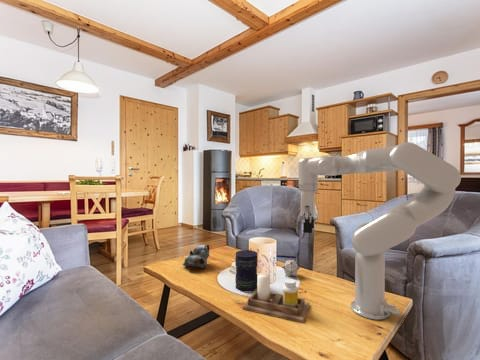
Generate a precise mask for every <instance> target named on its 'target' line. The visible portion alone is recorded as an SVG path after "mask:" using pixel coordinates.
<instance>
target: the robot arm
mask: <svg viewBox="0 0 480 360" xmlns="http://www.w3.org/2000/svg"><path fill="white" fill-rule="evenodd" d="M297 164H298V166H297V167H298V168H297V169H298V192H299V193H300V217H303V225H302V226H303V233H305V234H312V233H313V229H315V228H314V227H315V219H314V216H315V213H316V212H315V211H316V193H317V192H319V187H318V185H319V184H318V183H319V180H318V179H319V178H318V177H319V176H341V175H352V174H361V175H362V174H372V173H382V172H383V173H384V172H385V173H386V172H396V171H403V172H404V173H406V174H407V175H409V176H410V177H411V178H413V179H414V180H416V181H418V182H420V183H421V184H423V188H422V189H421V191H420V192H418V193H417V194H415V195H414V196H412V197H410V198H408V199H407V200H406V201H404V202H402V203H400V204H399V205H397V206H394V207H392V208H390V209H387V211H385V213H384V214H382V215H381V216H379V217H377V218H376V219H374V220H372V221H371V222H365V223H362V224H360V225H359V226H358V227H357V228H356V229H355V231H354V232H353V233H352V236H351V245H352V248H353V249H354V250H355V254H354V255H355V257H354V259H355V260H354V261H355V264H354V267H355V269H354V284H355V285H354V288H355V289H354V300H352V301H351V302H350V309H351V310H352V312H354V313H355V314H356V315H359V316H361V317H363V318H366V319H369V320H377V321H378V320H386V319H388V318H389V317H390V314H391V315H395V316H400V309H398V308H397V306H396V305H391V304H389V303H388V300H387V299H386V298H385V297H386V296H385V294H386V293H385V286H386V285H385V281H386V280H385V279H386V278H385V277H386V276H385V275H386V273H385V270H386V251H387V250H390V249H391V248H393V247H396V246H398V245H400V244H401V243H404V242H405V241H407V240H409V239H410V238H411V237H412V236H414V233H415V232H416V230H417V227H419V226H421V225H423V224H426V223H427V222H429V221H430V220H432V219H434V218H435V217H437V216H438V215H441V214H442V213H443V212H444V211H445V210H447V209H448V207H449V206H450V205H451V203H452V202H453V200H454V197H455V193H456V189H457V187H458V186H459V185H460V183H461V180H462V176H461V173H460V170H459V169H458V168H457V167H455V166H454V165H452V164H451V163H449V162H447V161H446V160H444V159H442V158H440V157H439V156H437V155H435V154H434V153H432V152H430V151H428V150H426V148H423V147H421V146H420V145H418V144H416V143H414V142H410V141H409V142H408V141H406V142H405V141H404V142H401V143H398V144H397V145H392V146H386V147H385V146H384V147H378V148H371V149H370V148H369V149H365V150H361V151H359V152H356V153H354V154H348V155H344V156H343V155H342V156H333V157H332V156H329V155H323V156H318V157H303V158H300V159H299V160H298V163H297Z"/></svg>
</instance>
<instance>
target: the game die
mask: <svg viewBox="0 0 480 360" xmlns="http://www.w3.org/2000/svg"><path fill="white" fill-rule="evenodd" d="M296 261H297V258H295V259H294V260H292V259H287V258H285V263H284V265H283V266H282V267H281V268H282V269H283V270H284V273H285V277H287V276H291V277H292V276H295V278H297V273H298V270H300V269H301V267H300V266H298V263H297V262H296Z"/></svg>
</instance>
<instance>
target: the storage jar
mask: <svg viewBox="0 0 480 360" xmlns="http://www.w3.org/2000/svg"><path fill="white" fill-rule="evenodd" d="M234 260H235V268H236V269H235V279H234V280H235V281H234V282H235V289H236V290H237V289H238V290H237V291H239V290H240V292H243V291H251V292H254V291H256V290H257V275H258V263H259V261H258V260H259V259H258V252H257V251H255V250H250V249H247V250H246V249H245V250H243V249H242V250H239V251H236V252H235V259H234ZM255 289H256V290H255ZM253 290H254V291H253Z"/></svg>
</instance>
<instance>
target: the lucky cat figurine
mask: <svg viewBox="0 0 480 360" xmlns="http://www.w3.org/2000/svg"><path fill="white" fill-rule="evenodd" d="M208 258H210V244H207V245H206V244H200V245H197V246H196V247H194V249H193V250H190V251H189V255H187V256H186V257H185V259H184V262H183V263H182V266H184V267H194V268H200V269H204V270H205V269H207V266H208V261H207V260H208Z"/></svg>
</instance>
